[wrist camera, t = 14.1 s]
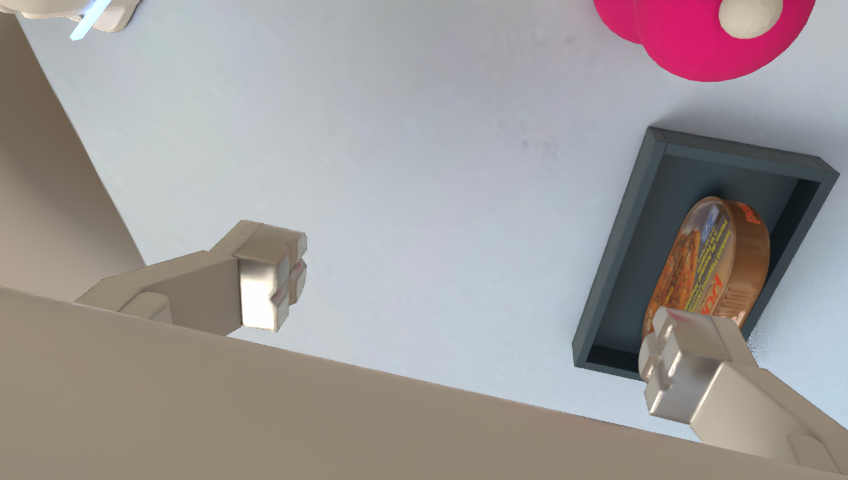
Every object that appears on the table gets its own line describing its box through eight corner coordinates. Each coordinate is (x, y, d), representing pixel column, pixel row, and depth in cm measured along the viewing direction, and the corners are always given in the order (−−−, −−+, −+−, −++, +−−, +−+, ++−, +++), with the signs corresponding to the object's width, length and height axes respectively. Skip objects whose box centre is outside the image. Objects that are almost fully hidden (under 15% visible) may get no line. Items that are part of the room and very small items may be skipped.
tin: (701, 176, 39) (739, 232, 32) (746, 184, 39) (795, 243, 32) (632, 338, 47) (650, 412, 39) (670, 346, 46) (695, 422, 39)
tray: (571, 343, 49) (573, 366, 46) (647, 126, 39) (655, 140, 36) (705, 372, 48) (715, 397, 45) (819, 156, 38) (840, 173, 35)
